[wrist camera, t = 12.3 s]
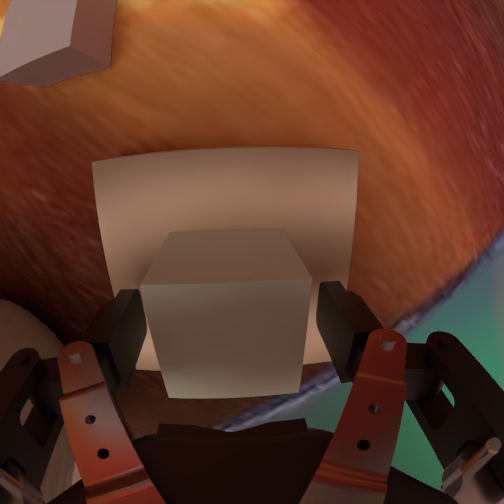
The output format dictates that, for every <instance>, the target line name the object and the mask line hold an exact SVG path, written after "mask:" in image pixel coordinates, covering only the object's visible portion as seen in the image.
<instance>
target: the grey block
mask: <svg viewBox="0 0 504 504" xmlns="http://www.w3.org/2000/svg"><path fill="white" fill-rule="evenodd" d="M116 5H117V0H13V1H11V2H10V4H9V7H8V11H7V15H6V18H5V22H4V26H3V31H2V35H1V40H0V81H7V82H14V83H21V84H27V85H33V86H38V87H45V86H48V85H51V84H54V83H57V82H60V81H63V80H66V79H69V78H72V77H75V76H79V75H82V74H86V73H89V72H93V71H97V70H101V69H105V68H109V67H110V64H111V49H112V37H113V28H114V19H115V11H116Z"/></svg>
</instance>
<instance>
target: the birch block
mask: <svg viewBox="0 0 504 504" xmlns="http://www.w3.org/2000/svg"><path fill="white" fill-rule="evenodd" d="M358 161H359V151H356V150H348V149H339V148H326V147H302V146H237V147H212V148H196V149H182V150H171V151H160V152H151V153H142V154H134V155H127V156H119V157H114V158H109V159H104V160H99V161H94V162H92V171H93V181H94V190H95V198H96V206H97V213H98V220H99V226H100V232H101V238H102V243H103V248H104V254H105V258H106V263H107V268H108V272H109V277H110V281H111V285H112V289H113V293H114V297H116V295H117V293H118V292H119V290H120V289H138V290H139V292H140V295H141V299H142V304H143V308H144V313H145V317H146V321H147V334H146V337H145V340H144V343H143V346H142V349H141V352H140V355H139V358H138V361H137V364H136V369H137V370H157V371H161V370H160V366H159V363H158V359H157V356H156V352H155V348H154V345H153V341H152V337H151V333H150V329H149V325H148V320H147V316H146V312H145V307H144V303H143V298H142V293H141V288H140V284H141V282H142V280H143V279H144V277H145V275H146V273H147V271H148V269H149V268H150V266H151V264H152V262H153V261H154V259H155V257H156V255H157V254H158V252H159V250H160V248H161V247H162V245H163V243H164V242H165V240H166V238H167V237H168V235H169V233H170V232H186V231H208V230H232V229H261V228H282V229H283V230H284V232H285V233H286V235H287V237H288V238H289V240H290V242H291V243H292V245H293V247H294V248H295V250H296V252H297V253H298V255H299V257H300V258H301V260H302V262H303V263H304V265H305V267H306V269H307V270H308V272H309V274H310V275H311V277H312V286H311V297H310V307H309V316H308V325H307V334H306V343H305V351H304V358H303V364H311V363H319V362H326V361H332V360H331V357H330V355H329V353H328V351H327V348H326V346H325V344H324V342H323V339H322V337H321V335H320V332H319V330H318V328H317V323H316V310H317V302H318V293H319V285H320V283H321V282H324V281H340V282H341V284H342V285H343V287H344V288H345V289H346V291H347V284H348V277H349V269H350V261H351V253H352V244H353V235H354V224H355V213H356V199H357V183H358Z"/></svg>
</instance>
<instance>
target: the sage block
mask: <svg viewBox="0 0 504 504" xmlns="http://www.w3.org/2000/svg"><path fill="white" fill-rule="evenodd" d="M311 286H312V277H311V275H310V274H309V272H308V270H307V269H306V267H305V265H304V263H303V262H302V260H301V258H300V257H299V255H298V253H297V252H296V250H295V248H294V247H293V245H292V243H291V242H290V240H289V238H288V237H287V235H286V233H285V232H284V230H283V229H282V228H261V229H232V230H208V231H186V232H170V233H169V235H168V237H167V238H166V240H165V242H164V243H163V245H162V247H161V248H160V250H159V252H158V254H157V255H156V257H155V259H154V261H153V262H152V264H151V266H150V268H149V269H148V271H147V273H146V275H145V277H144V279H143V280H142V282H141V284H140V288H141V293H142V298H143V303H144V307H145V312H146V316H147V320H148V325H149V329H150V333H151V337H152V341H153V345H154V348H155V352H156V356H157V359H158V363H159V366H160V370H161V373H162V377H163V380H164V383H165V386H166V390H167V393H168V396H169V398H237V397H254V396H267V395H278V394H288V393H297V392H299V387H300V380H301V373H302V366H303V358H304V351H305V343H306V334H307V325H308V316H309V307H310V297H311Z"/></svg>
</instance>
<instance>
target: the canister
mask: <svg viewBox="0 0 504 504" xmlns="http://www.w3.org/2000/svg"><path fill="white" fill-rule="evenodd" d="M63 347H64V345H63V342H62V341H60V340H59V339H58V338H57V337H56V335H55V333H53V332H52V331H51V330H50V329H49V328H48V326H47V325H45V324H44V323H42V322H41V321H40V319H39V318H38V317H35V316H34V315H32V313H31V312H30V311H28V310H25V309H24V308H23V307H22V306H21V305H16V304H15V303H14V302H12V301H6V300H5V299H0V372H1V370H2V369H3V367H4V366H5V365H6V363H7V362H8V360H9V359H10V358H11V356H12V355H13V354H14V353H16V352H17V351H19V350H21V349H24V348H34V349H36V350H37V351H38V353H39V355H40V357H41V359H48V358H55V357H57V356H58V353H59V351H60V350H61V349H62V348H63ZM32 407H33V404H32V403H31V401H30V400H29V398H28V400H27V402H26V404H25V406H24V407H23V409H22V411H21V414H20V421H21V424H22V426H23V425H24V423H25V421H26V419H27V417H28V415H29V413H30V411H31V409H32ZM74 465H75V458H74V455H73V452H72V449H71V445H70V442H69V438H68V435H67V431H66V427H65V423H64V425H63V427H62V430H61V432H60V434H59V437H58V439H57V442H56V445H55V447H54V450H53V452H52V455H51V458H50V461H49V463H48V466H47V469H46V472H45V475H44V478H43V481H42V484H41V487H40V489H41V492H42V495H43V501H44V502H45V503H48V502H49V501H51V500H52V499H54V498H55V497H57V496H58V495H60V494H61V493H62V492H64V491H65V490H67V489H68V488H70V487H71V486H72V478H73V472H74Z"/></svg>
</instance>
